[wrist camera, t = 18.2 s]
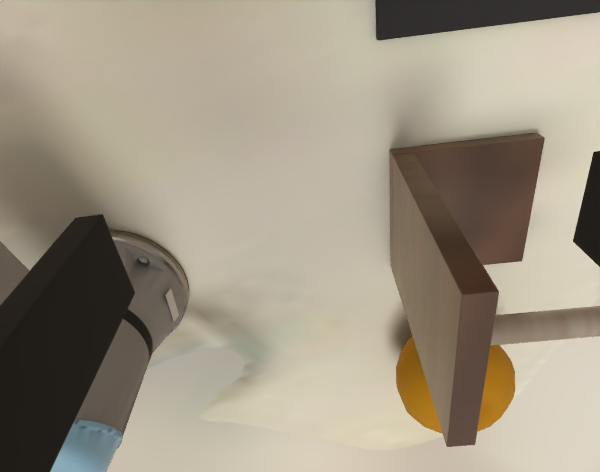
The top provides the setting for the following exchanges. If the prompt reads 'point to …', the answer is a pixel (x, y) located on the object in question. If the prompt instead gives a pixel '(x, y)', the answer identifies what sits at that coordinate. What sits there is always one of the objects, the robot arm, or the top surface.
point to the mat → (467, 14)
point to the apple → (419, 397)
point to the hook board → (466, 264)
